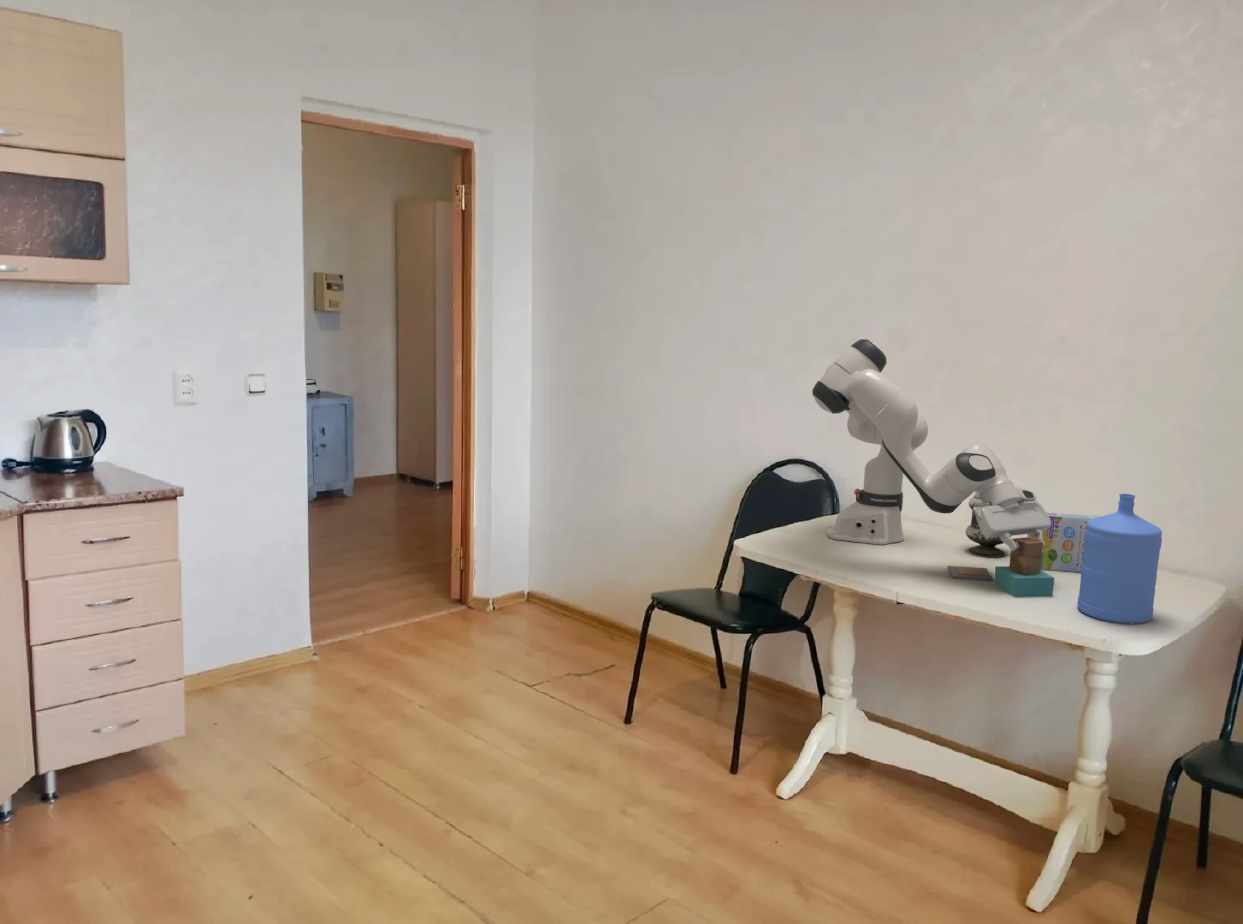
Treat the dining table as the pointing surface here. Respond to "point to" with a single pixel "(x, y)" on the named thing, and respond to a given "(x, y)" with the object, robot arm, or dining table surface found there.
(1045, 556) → the snack box
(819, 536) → the dining table surface
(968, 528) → the apothecary jar
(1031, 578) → the teal base block
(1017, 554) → the walnut block
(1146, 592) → the water jug
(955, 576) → the card
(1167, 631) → the dining table surface
